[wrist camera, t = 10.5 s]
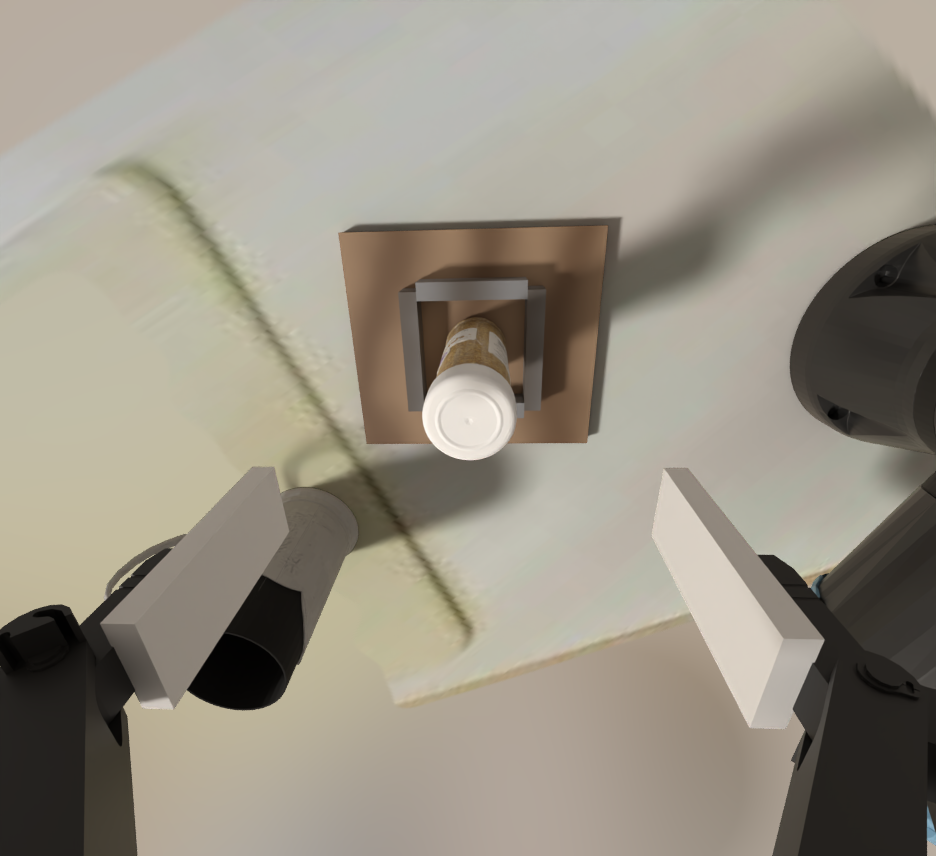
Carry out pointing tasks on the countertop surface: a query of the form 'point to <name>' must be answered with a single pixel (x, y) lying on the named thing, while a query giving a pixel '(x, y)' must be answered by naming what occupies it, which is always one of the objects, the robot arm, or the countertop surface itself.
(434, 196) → the countertop surface
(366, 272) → the socket board
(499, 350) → the sprinkles bottle
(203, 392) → the countertop surface
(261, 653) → the grey mug
